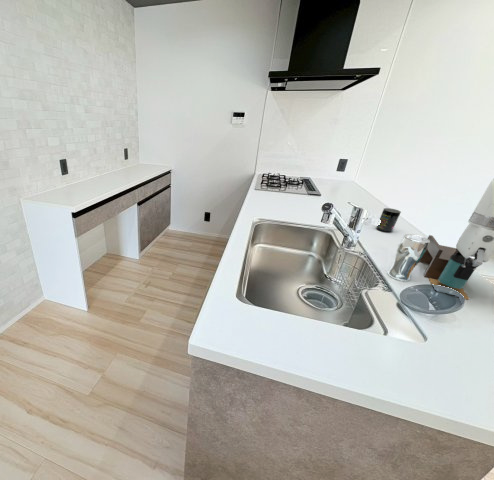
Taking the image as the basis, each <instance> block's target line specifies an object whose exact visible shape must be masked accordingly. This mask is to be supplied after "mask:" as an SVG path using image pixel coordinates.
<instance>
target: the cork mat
mask: <svg viewBox="0 0 494 480" xmlns="http://www.w3.org/2000/svg"><path fill="white" fill-rule="evenodd" d="M428 281H429V283H430V285H431V284H434V285H441V286H445V287H449V286H447V285H445V284H443V283H441V282H440V281H439V280H436V279H432V278H428ZM449 288H452V289H454V290H456V291H458V292H459V293H461V294H462V295H463V296H464V298H465V299H464V300H467V301H469V299H470V297H469V295H468V294H467V293H466V291H465V290H464V289H463V288H464V287H463V288H461V289H458V288H453V287H449Z"/></svg>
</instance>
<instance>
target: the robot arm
mask: <svg viewBox="0 0 494 480" xmlns="http://www.w3.org/2000/svg"><path fill="white" fill-rule="evenodd" d="M467 223H468V225H467V226H466V227H465V229H464V230H463V232H462V233H461V235H460V237H459V239H458V240H457V242H456V244H455V248H457V249H456V252H455V253H454V254H457V255H463V256H464V257H465V258H464V261H463V263H462V266H459V267H458V269H457V271H456V272H455V274H454V277H455V278H459V279H463V280H468V281H469V279H470V278H471V277H472V275H473V274H474V272H475V270H476V269H477V268H478V267H480V266H482V265H483V263H487V262H488V261H490V258H491V257H492V256H493V254H494V178H493V179H492V180H491V181H490V182H489V184H488V185H487V187H486V189H485V191H484V193H483V195H482V196H481V197H480V199H479V201H478V203H477V205H476V206H475V208H474V210H473V212H472V213H471V215H470V217H469V219H468V221H467ZM468 260H472V261H473V262H469V263H467V262H468ZM473 271H474V272H473ZM471 274H472V275H471ZM469 277H470V278H469Z"/></svg>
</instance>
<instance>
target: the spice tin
mask: <svg viewBox="0 0 494 480" xmlns="http://www.w3.org/2000/svg"><path fill="white" fill-rule="evenodd" d="M464 258H465V257H464V256H463V255H457V254H453V255H451V257H450V259H449V261H448V263H447V264H446V266H445V268H444V270H443V271H442V273H441V275H440V277H439V278H438V280H439V281H440V282H441V283H443V284H445V285H447V286H449V287H453V288H458V289H461V288H464V287H465V285H466V284H467V282H468V281H469V279H470V278H471V276H472V275H473V273H474V272H475V270H474V271H473V273H472V274H471V276H470V277H469V279H468V280H463V279H459V278H455V277H454V274H455V272H456V271H457V269H458V267H459V266H462V263H463V261H464ZM469 262H473V261H472V260H468V262H467V263H469Z"/></svg>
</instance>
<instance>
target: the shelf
mask: <svg viewBox="0 0 494 480" xmlns="http://www.w3.org/2000/svg"><path fill="white" fill-rule="evenodd" d="M427 239H428V240H430V243H429V245H428V248H427V250H426V252H425V254H424V256H423V258H422V259H421V260H420V262H419V263H422V264H426V265H428V267H427V268H426V270H425V272H424V274H423V277H424V278H427V279H429V278H432V279H436V280H438V278H439V277H440V275H441V273H442V271H443V270H444V268H445V266H446V264H447V263H448V261H449V259H450V257H451V255H453V254H454V253H455V252H456V249H457V248H456V247H452V246H447V245H442V244H440V243H438V241H437V239H436V238H435V237H434V236H433V235H431V234H429V235H428V236H427Z"/></svg>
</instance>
